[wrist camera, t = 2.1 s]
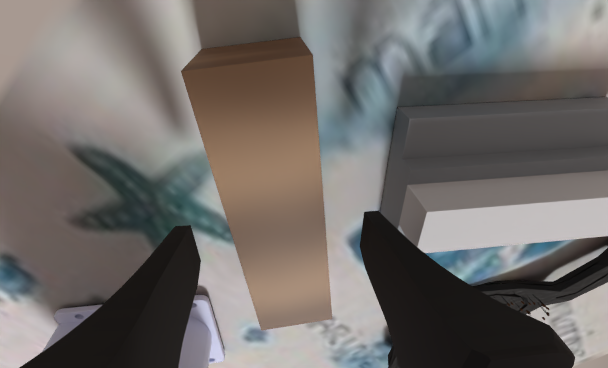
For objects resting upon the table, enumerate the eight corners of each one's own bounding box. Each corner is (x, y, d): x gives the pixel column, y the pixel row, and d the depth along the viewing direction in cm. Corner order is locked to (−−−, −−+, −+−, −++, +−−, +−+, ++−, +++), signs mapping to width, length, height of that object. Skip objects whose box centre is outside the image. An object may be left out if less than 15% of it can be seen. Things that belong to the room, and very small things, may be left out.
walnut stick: (320, 264, 20) (332, 318, 17) (261, 273, 20) (261, 330, 17) (299, 36, 13) (312, 54, 9) (202, 47, 12) (181, 71, 9)
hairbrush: (736, 252, 20) (426, 414, 27) (672, 219, 24) (408, 371, 30) (737, 180, 17) (374, 389, 23) (660, 151, 20) (359, 343, 26)
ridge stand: (376, 232, 19) (404, 293, 15) (397, 107, 14) (443, 150, 11) (540, 218, 20) (604, 272, 16) (606, 96, 15) (716, 133, 12)
